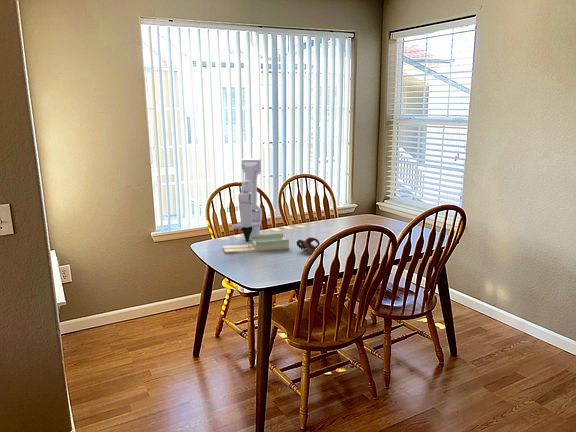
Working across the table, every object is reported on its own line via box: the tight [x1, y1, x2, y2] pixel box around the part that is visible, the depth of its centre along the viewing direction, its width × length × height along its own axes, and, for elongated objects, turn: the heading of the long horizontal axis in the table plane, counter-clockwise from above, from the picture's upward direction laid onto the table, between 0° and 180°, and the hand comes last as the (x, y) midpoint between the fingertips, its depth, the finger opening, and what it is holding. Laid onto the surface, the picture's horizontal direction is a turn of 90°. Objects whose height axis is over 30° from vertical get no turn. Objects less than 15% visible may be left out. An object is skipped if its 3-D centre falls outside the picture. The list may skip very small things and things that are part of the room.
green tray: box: [251, 232, 290, 253], centre depth 254 cm, size 13×17×5 cm
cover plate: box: [222, 243, 257, 255], centre depth 251 cm, size 11×15×2 cm
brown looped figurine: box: [295, 236, 321, 255], centre depth 246 cm, size 12×10×8 cm
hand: (247, 241), depth 251 cm, fingers closed
